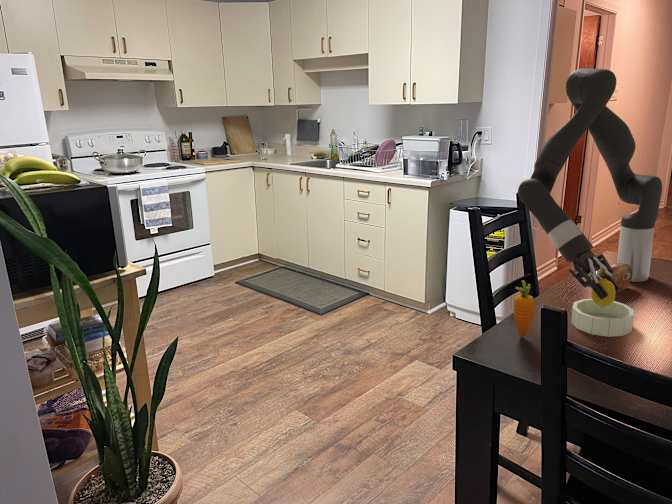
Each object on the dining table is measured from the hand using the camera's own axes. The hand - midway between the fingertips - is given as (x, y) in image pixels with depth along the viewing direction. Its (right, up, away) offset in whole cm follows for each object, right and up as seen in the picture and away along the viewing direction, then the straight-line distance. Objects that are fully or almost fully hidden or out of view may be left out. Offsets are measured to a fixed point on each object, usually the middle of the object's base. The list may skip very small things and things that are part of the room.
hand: (610, 294), depth 130 cm
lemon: (-1, -4, +3) cm, 5 cm away
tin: (+14, -2, +25) cm, 29 cm away
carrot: (-23, -11, -1) cm, 26 cm away
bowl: (-1, -8, +4) cm, 9 cm away
